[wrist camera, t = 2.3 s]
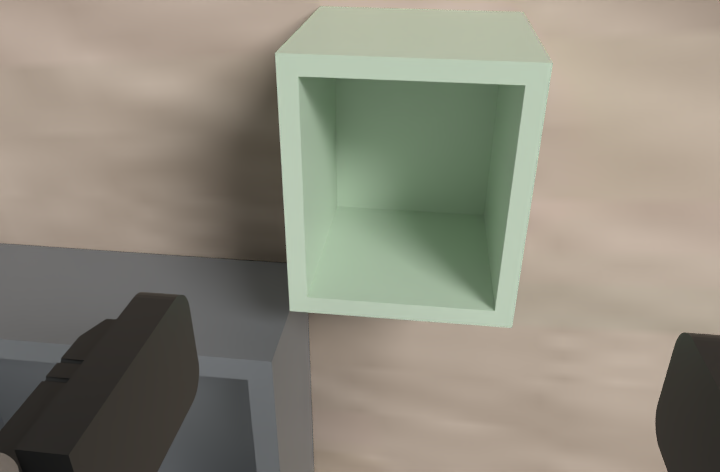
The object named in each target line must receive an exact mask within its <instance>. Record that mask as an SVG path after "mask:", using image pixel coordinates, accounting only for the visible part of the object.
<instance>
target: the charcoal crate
mask: <svg viewBox="0 0 720 472" xmlns="http://www.w3.org/2000/svg"><path fill="white" fill-rule="evenodd" d="M139 292H150V293H163V294H177V295H184V296H185V297H186V298H187V300H188V302H189V306H190V312H191V318H192V324H193V331H194V337H195V343H196V349H197V356H198V362H199V382H198V388H197V392H196V396H195V399H194V401H193V403H192V405H191V407H190V409H189V411H188V413H187V415H186V417H185V419H184V421H183V423H182V425H181V427H180V429H179V431H178V433H177V435H176V437H175V439H174V441H173V443H172V445H171V446H170V448H169V450H168V452H167V454H166V456H165V458H164V460H163V462H162V464H161V466H160V468H159V470H158V472H314V452H313V426H312V400H311V374H310V349H309V323H308V312H296V311H290V305H289V288H288V271H287V263H278V262H263V261H248V260H234V259H219V258H205V257H190V256H176V255H161V254H147V253H132V252H117V251H103V250H88V249H74V248H59V247H45V246H30V245H15V244H1V243H0V430H1V429H2V428H3V427H4V426H5V424H6V423H7V422H8V421H9V420H10V418H11V417H12V416H13V415H14V414H15V412H16V411H17V410H18V409H19V408H20V406H21V405H22V404H23V403H24V402H25V400H26V399H27V398H28V397H29V396H30V394H31V393H32V392H33V391H34V390H35V389H36V387H37V386H38V385H39V384H40V383H41V381H45V380H46V375H47V374H48V373H49V372H50V371H51V369H52V368H53V367H54V366H55V365H56V363H60V362H61V357H62V356H63V355H64V354H65V353H66V352H67V350H68V349H69V348H70V347H71V346H72V344H73V343H74V342H75V341H76V340H77V338H78V337H79V336H81V335H82V334H84V333H85V332H87V331H88V330H90V329H91V328H93V327H94V326H96V325H97V324H99V323H100V322H102V321H104V320H105V319H117V318H118V317H119V315H120V314H121V313H122V311H123V310H124V309H125V308H126V306H127V305H128V304H129V303H130V301H131V300H132V299H133V297H134V296H135V295H136V294H138V293H139Z"/></svg>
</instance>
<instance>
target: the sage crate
mask: <svg viewBox="0 0 720 472" xmlns="http://www.w3.org/2000/svg"><path fill="white" fill-rule="evenodd" d="M275 62H276V79H277V96H278V114H279V131H280V149H281V166H282V183H283V201H284V218H285V236H286V253H287V271H288V288H289V305H290V311H296V312H309V313H322V314H335V315H349V316H362V317H375V318H388V319H402V320H415V321H428V322H441V323H454V324H468V325H481V326H494V327H507V328H512V324H513V318H514V311H515V305H516V298H517V292H518V285H519V279H520V272H521V266H522V259H523V253H524V246H525V240H526V233H527V227H528V220H529V214H530V207H531V201H532V195H533V188H534V182H535V175H536V169H537V162H538V156H539V149H540V143H541V136H542V130H543V123H544V117H545V110H546V104H547V97H548V91H549V84H550V78H551V71H552V65H553V63H552V61H551V59H550V57H549V56H548V54H547V52H546V50H545V49H544V47H543V45H542V43H541V42H540V40H539V38H538V36H537V35H536V33H535V31H534V30H533V28H532V26H531V24H530V23H529V21H528V19H527V17H526V16H525V14H524V12H507V11H471V10H435V9H399V8H364V7H328V6H320V7H319V8H318V9H317V10H316V11H315V12H314V13H313V14H312V15H311V16H310V17H309V18H308V20H307V21H306V22H305V23H304V24H303V25H302V26H301V27H300V28H299V29H298V30H297V31H296V32H295V33H294V34H293V35H292V36H291V37H290V38H289V39H288V40H287V41H286V42H285V43H284V44H283V45H282V46H281V47H280V48H279V49H278V51H277V52H276V53H275Z"/></svg>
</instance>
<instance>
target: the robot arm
mask: <svg viewBox="0 0 720 472" xmlns="http://www.w3.org/2000/svg"><path fill="white" fill-rule="evenodd" d="M198 382H199V362H198V356H197V349H196V343H195V337H194V331H193V324H192V318H191V312H190V306H189V302H188V300H187V298H186V297H185V296H184V295H177V294H163V293H150V292H139V293H138V294H136V295H135V296H134V297H133V299H132V300H131V301H130V303H129V304H128V305H127V306H126V308H125V309H124V310H123V311H122V313H121V314H120V315H119V317H118V318H117V319H105V320H104V321H102V322H100V323H99V324H97V325H96V326H94V327H93V328H91V329H90V330H88V331H87V332H85V333H84V334H82V335H81V336H79V337H78V338H77V340H76V341H75V342H74V343H73V344H72V346H71V347H70V348H69V349H68V350H67V352H66V353H65V354H64V355H63V356H62V357H61V362H60V363H56V365H55V366H54V367H53V368H52V369H51V371H50V372H49V373H48V374H47V375H46V380H45V381H41V383H40V384H39V385H38V386H37V387H36V389H35V390H34V391H33V392H32V393H31V394H30V396H29V397H28V398H27V399H26V400H25V402H24V403H23V404H22V405H21V406H20V408H19V409H18V410H17V411H16V412H15V414H14V415H13V416H12V417H11V418H10V420H9V421H8V422H7V423H6V424H5V426H4V427H3V428H2V429H1V430H0V472H158V470H159V468H160V466H161V464H162V462H163V460H164V458H165V456H166V454H167V452H168V450H169V448H170V446H171V445H172V443H173V441H174V439H175V437H176V435H177V433H178V431H179V429H180V427H181V425H182V423H183V421H184V419H185V417H186V415H187V413H188V411H189V409H190V407H191V405H192V403H193V401H194V399H195V396H196V392H197V388H198ZM656 436H657V441H658V445H659V449H660V451H661V454H662V457H663V460H664V463H665V465H666V468H667V471H668V472H720V335H710V334H696V333H682V334H681V335H680V336H679V337H678V339H677V341H676V343H675V346H674V350H673V353H672V357H671V360H670V364H669V367H668V370H667V374H666V377H665V381H664V384H663V388H662V391H661V395H660V398H659V401H658V405H657V410H656Z"/></svg>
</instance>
